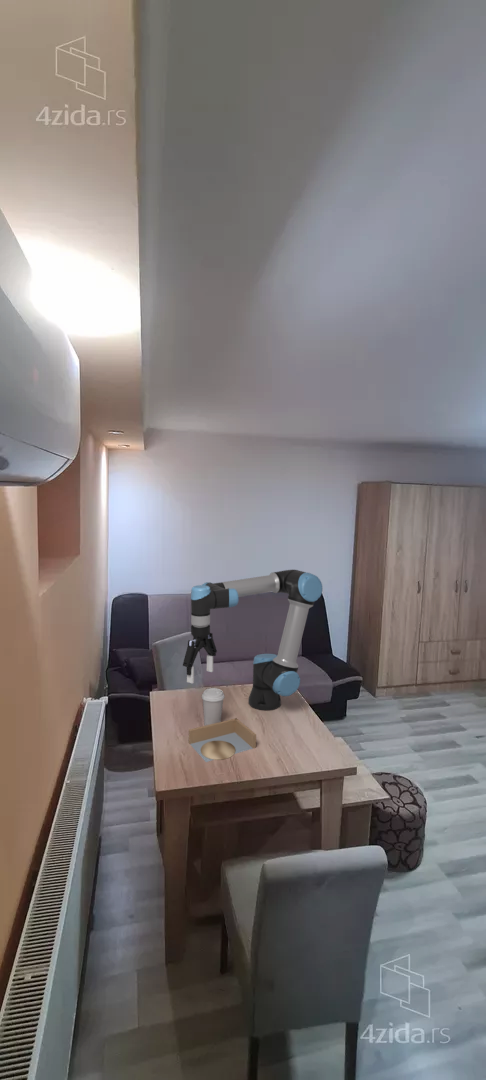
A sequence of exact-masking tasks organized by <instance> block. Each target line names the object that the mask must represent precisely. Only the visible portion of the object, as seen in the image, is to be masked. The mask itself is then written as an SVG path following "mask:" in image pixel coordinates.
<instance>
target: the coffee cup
mask: <svg viewBox="0 0 486 1080" xmlns="http://www.w3.org/2000/svg"><path fill="white" fill-rule="evenodd" d="M225 698H226V697H225V693H224V691H223V690H222V689H220V688H216V687H211V688H210V687H209V688H206V689H204V690H203V693H202V694H201V699H202V707H203V708H202V709H203V722H204V723H203V726H206V725H210V724H214V723H218V722H222V714H223V704H224V699H225Z"/></svg>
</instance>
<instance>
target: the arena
mask: <svg viewBox="0 0 486 1080" xmlns="http://www.w3.org/2000/svg"><path fill="white" fill-rule="evenodd" d="M210 741H226V742H229V743H231V744H232V745H233V746H234V747H235V754H240V753H243V752H246V751H249V750H253V749H256V747H257V734H256V733H255V732H254V731H252V729H250V728H249V727H248V726H247V725H245V724H244V723H243V722H242V721H241V720H239V719H238V718H237V717H235V718H231V719H228V720H223V721H222V720H221V722H218V723H214V724H210V725H206V726H204V725H203V726H199V727H194V728H190V729H188V744H189V745H190V746H191V747H192V749H194V751H195V752H196V753H197V754H198V755H199V756H200V757H201V759H203V761H204V762H205V763H209V762H212V761H214V760H213V759H209V758H206V757H205V756H203V755H202V753H201V747H202V746H203V745H204V744H205V743H207V742H210ZM235 754H234V755H235Z"/></svg>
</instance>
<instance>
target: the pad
mask: <svg viewBox="0 0 486 1080" xmlns="http://www.w3.org/2000/svg"><path fill="white" fill-rule="evenodd" d="M201 753H202V755H203V756H205V757H206V758H209V759H213V760H212V761H214V760H215V761H222V760H226V759H229V758H232V757H233V756H234V755H235V747H234V746H233V745H232V744H231V743H229V742H226V741H210V742H207V743H205V744H204V745H203V746H202V747H201Z"/></svg>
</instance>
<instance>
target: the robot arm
mask: <svg viewBox="0 0 486 1080" xmlns="http://www.w3.org/2000/svg"><path fill="white" fill-rule="evenodd" d="M190 591H191V593H190V615H191V619H190V622H191V623H190V624H191V625H190V634H191V636H192V637H193V638H192V640H189V639H188V641H187V646H186V651H185V654H184V659H183V662H182V667H186V683H190V684H194V683H195V666H194V663H195V660H196V658H197V656H198V653H199V652H200V651H201V650H202V649H204V650H205V652H206V653H207V655H206V672H210V673H213V672H214V657H216V656H217V652H218V651H217V647H216V645H215V640H214V637H213V633H212V632H211V626H210V624H211V610H214V609H215V610H216V609H226V608H229V609H230V608H233V607H236V606H237V605H238V604H239V598H241V597H247V596H253V595H259V594H265V593H271V592H272V593H274V594H279V593H281V594H287V595H288V596H287V601H288V603H289V606H288V611H287V615H286V619H285V622H284V623H285V624H284V628H283V631H282V635H281V639H280V643H279V647H278V651H277V654H275V653H262V654H261V653H260V654H257V655H255V656H253V663H252V665H253V669H252V687H251V690H250V693H249V696H248V705H249V706H250V708H253V709H256V710H260V711H273V710H277V709H279V708H280V707H281V705H282V704H281V703H282V700H281V697H289V696H292V695H293V694H295V693H296V692H297V691H298V689H299V688H300V685H301V677H300V675H299V673H298V670H299V664H298V662H297V660H298V656H299V655H298V654H299V652H300V647H301V643H302V640H303V639H302V638H303V634H304V630H305V627H306V623H307V619H308V614H309V609H310V608H312V607H314V604H315V602H316V601H318V599H320V598H321V596H322V593H323V582H322V581H321V579H320V578H319V576H317V575H316V574H313V573H310V572H306V571H303V570H298V569H285V570H280V571H273V572H271V573H270V574H268V575H261V576H256V577H254V576H253V577H250V578H243V579H242V578H241V579H235V580H228V581H221V582H204V583H202V584H201V585H200V584H198V585H194V586H193V587H191V590H190Z"/></svg>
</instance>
